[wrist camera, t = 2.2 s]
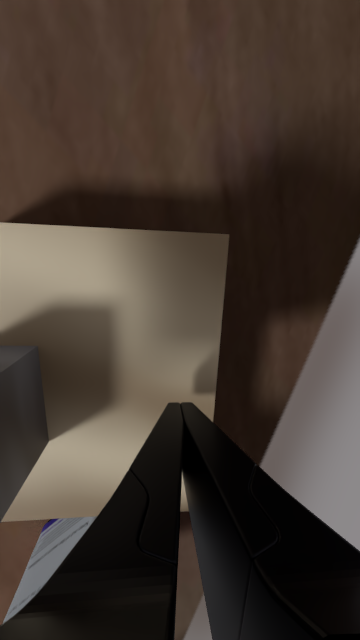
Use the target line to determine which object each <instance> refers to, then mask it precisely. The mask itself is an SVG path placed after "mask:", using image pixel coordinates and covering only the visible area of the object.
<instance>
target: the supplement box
mask: <svg viewBox="0 0 360 640" xmlns="http://www.w3.org/2000/svg"><path fill="white" fill-rule="evenodd" d="M96 517H97V516H94V517H77V518H59V519H51V520H50V521H49V522H47V523H46V524H45V525H44V527H43V529H42V532H41V534H40V537H39V539H38V542H37V544H36V546H35V548H34V551H33V553H32V555H31V558H30V560H29V563H28V565H27V568H26V570H25V572H24V575H23V577H22V580H21V582H20V584H19V587H18V589H17V592H16V594H15V596H14V599H13V601H12V603H11V606H10V608H9V610H8V613H7V615H6V617H5V619H4V622H6V621H7V620H9V619H10V618H11V617H13V616H14V615H15V614H16V613H17V612H18V611H20V610H21V609H22V608H23V607H24V606H25V605H26V604H27V603H28V602H29V601H30V600H31V599H32V598H33V597H34V596H35V595H36V594H37V593H38V591H39V590H40V589H41V588H42V587H43V586H44V585H45V583H46V582H47V581H48V580H49V578H50V577H51V576H52V575H53V573H54V572H55V571H56V569H57V568H58V567H59V565H60V564H61V563H62V562H63V560H64V559H65V558H66V556H67V555H68V554H69V552H70V551H71V550H72V549H73V547H74V546H75V545H76V543H77V542H78V541H79V539H80V538H81V537H82V536H83V534H84V533H85V532H86V530H87V529H88V528H89V526H90V525H91V524H92V523H93V521H94V520H95V519H96ZM4 622H3V623H4Z"/></svg>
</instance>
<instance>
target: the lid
mask: <svg viewBox="0 0 360 640" xmlns="http://www.w3.org/2000/svg"><path fill="white" fill-rule="evenodd" d="M228 245H229V234H214V233H195V232H175V231H155V230H136V229H116V228H97V227H77V226H58V225H38V224H19V223H0V522H6V521H23V520H41V519H59V518H77V517H94V516H98V515H99V513H100V512H101V510H102V509H103V508H104V506H105V505H106V504H107V502H108V501H109V499H110V498H111V496H112V495H113V493H114V492H115V490H116V489H117V487H118V486H119V484H120V482H121V481H122V479H123V477H124V476H125V474H126V472H127V471H128V470H129V468H130V466H131V464H132V463H133V461H134V459H135V458H136V456H137V454H138V452H139V451H140V449H141V447H142V446H143V444H144V442H145V441H146V439H147V437H148V436H149V434H150V432H151V431H152V429H153V427H154V426H155V424H156V422H157V421H158V419H159V417H160V416H161V414H162V412H163V410H164V409H165V407H166V405H167V404H168V403H169V402H179V403H180V404H181V402H192V403H193V404H195V405H196V406H197V407H198V408H199V409H200V410H201V411H202V412H203V413H204V414H205V415H206V416H207V417H208V418H209V419H210V420H211V421H212V422H213V417H214V406H215V394H216V383H217V371H218V360H219V348H220V337H221V325H222V314H223V302H224V291H225V279H226V268H227V256H228ZM183 511H189V508H188V503H187V497H186V492H185V486H184V481H183V474H182V487H181V508H180V512H183Z"/></svg>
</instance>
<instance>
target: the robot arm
mask: <svg viewBox="0 0 360 640" xmlns="http://www.w3.org/2000/svg"><path fill="white" fill-rule="evenodd" d="M182 474H183V481H184V486H185V492H186V497H187V503H188V508H189V514H190V519H191V525H192V530H193V536H194V541H195V546H196V552H197V557H198V563H199V568H200V574H201V579H202V585H203V590H204V596H205V601H206V606H207V612H208V617H209V622H210V628H211V633H212V639H213V640H360V551H359V550H358V549H356V548H355V547H354V546H353V545H351V544H350V543H349V542H348V541H346V540H345V539H344V538H342V537H341V536H340V535H339V534H337V533H336V532H335V531H334V530H333V529H332V528H330V527H329V526H328V525H327V524H325V523H324V522H323V521H322V520H320V519H319V518H318V517H317V516H315V515H314V514H313V513H311V512H310V511H309V510H308V509H307V508H306V507H304V506H303V505H302V504H301V503H299V502H298V501H297V500H296V499H295V498H294V497H292V496H291V495H290V494H289V493H288V492H286V491H285V490H284V489H283V488H282V487H281V486H280V485H279V484H277V483H276V482H275V481H274V480H273V479H272V478H271V477H270V476H269V475H268V474H267V473H266V472H264V471H263V470H262V469H261V468H260V467H259V466H258V465H256V463H255V462H254V461H253V460H252V459H251V458H250V457H249V456H248V455H247V454H246V453H245V452H244V451H242V450H241V449H240V448H239V447H238V446H237V445H236V444H235V443H234V442H233V441H232V440H231V439H230V438H229V437H228V436H227V435H226V434H225V433H224V432H223V431H222V430H221V429H220V428H218V427H217V426H216V425H215V424H214V423H213V422H212V421H211V420H210V419H209V418H208V417H207V416H206V415H205V414H204V413H203V412H202V411H201V410H200V409H199V408H198V407H197V406H196V405H195V404H193V403H192V402H181V404H180V403H179V402H169V403H168V404H167V405H166V407H165V409H164V410H163V412H162V414H161V416H160V417H159V419H158V421H157V422H156V424H155V426H154V427H153V429H152V431H151V432H150V434H149V436H148V437H147V439H146V441H145V442H144V444H143V446H142V447H141V449H140V451H139V452H138V454H137V456H136V458H135V459H134V461H133V463H132V464H131V466H130V468H129V470H128V471H127V472H126V474H125V476H124V477H123V479H122V481H121V482H120V484H119V486H118V487H117V489H116V490H115V492H114V493H113V495H112V496H111V498H110V499H109V501H108V502H107V504H106V505H105V506H104V508H103V509H102V510H101V512H100V513H99V515H98V516H97V517H96V519H95V520H94V521H93V523H92V524H91V525H90V526H89V528H88V529H87V530H86V532H85V533H84V534H83V536H82V537H81V538H80V539H79V541H78V542H77V543H76V545H75V546H74V547H73V549H72V550H71V551H70V552H69V554H68V555H67V556H66V558H65V559H64V560H63V562H62V563H61V564H60V565H59V567H58V568H57V569H56V571H55V572H54V573H53V575H52V576H51V577H50V578H49V580H48V581H47V582H46V583H45V585H44V586H43V587H42V588H41V589H40V590H39V591H38V593H37V594H36V595H35V596H34V597H33V598H32V599H31V600H30V601H29V602H28V603H27V604H26V605H25V606H24V607H23V608H22V609H21V610H20V611H18V612H17V613H16V614H15V615H14V616H13V617H11V618H10V619H9V620H7V621H6V622H4V623H3V624H2V625H0V640H174V633H175V611H176V590H177V569H178V549H179V528H180V508H181V487H182Z"/></svg>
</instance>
